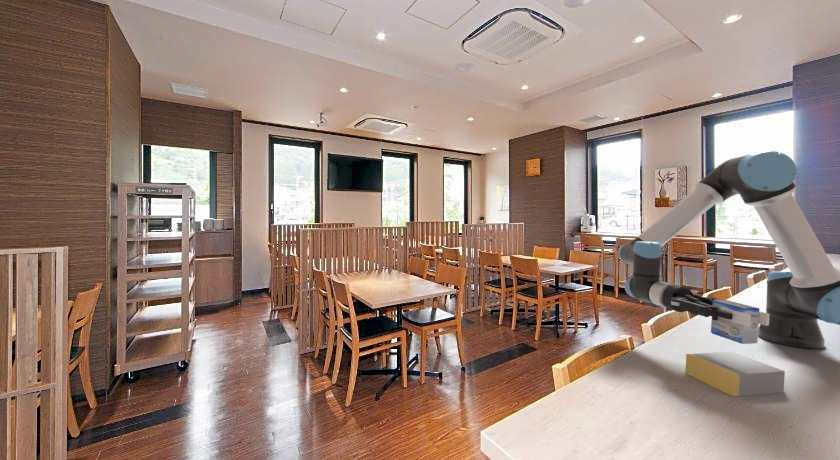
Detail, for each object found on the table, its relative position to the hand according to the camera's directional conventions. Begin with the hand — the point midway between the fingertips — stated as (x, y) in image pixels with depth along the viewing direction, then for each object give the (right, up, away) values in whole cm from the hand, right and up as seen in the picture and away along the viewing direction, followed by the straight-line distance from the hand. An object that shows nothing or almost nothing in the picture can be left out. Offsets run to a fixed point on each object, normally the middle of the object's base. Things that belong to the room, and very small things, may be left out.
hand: (758, 320), depth 81 cm
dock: (-1, -17, +6) cm, 18 cm away
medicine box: (-1, -6, +6) cm, 8 cm away
